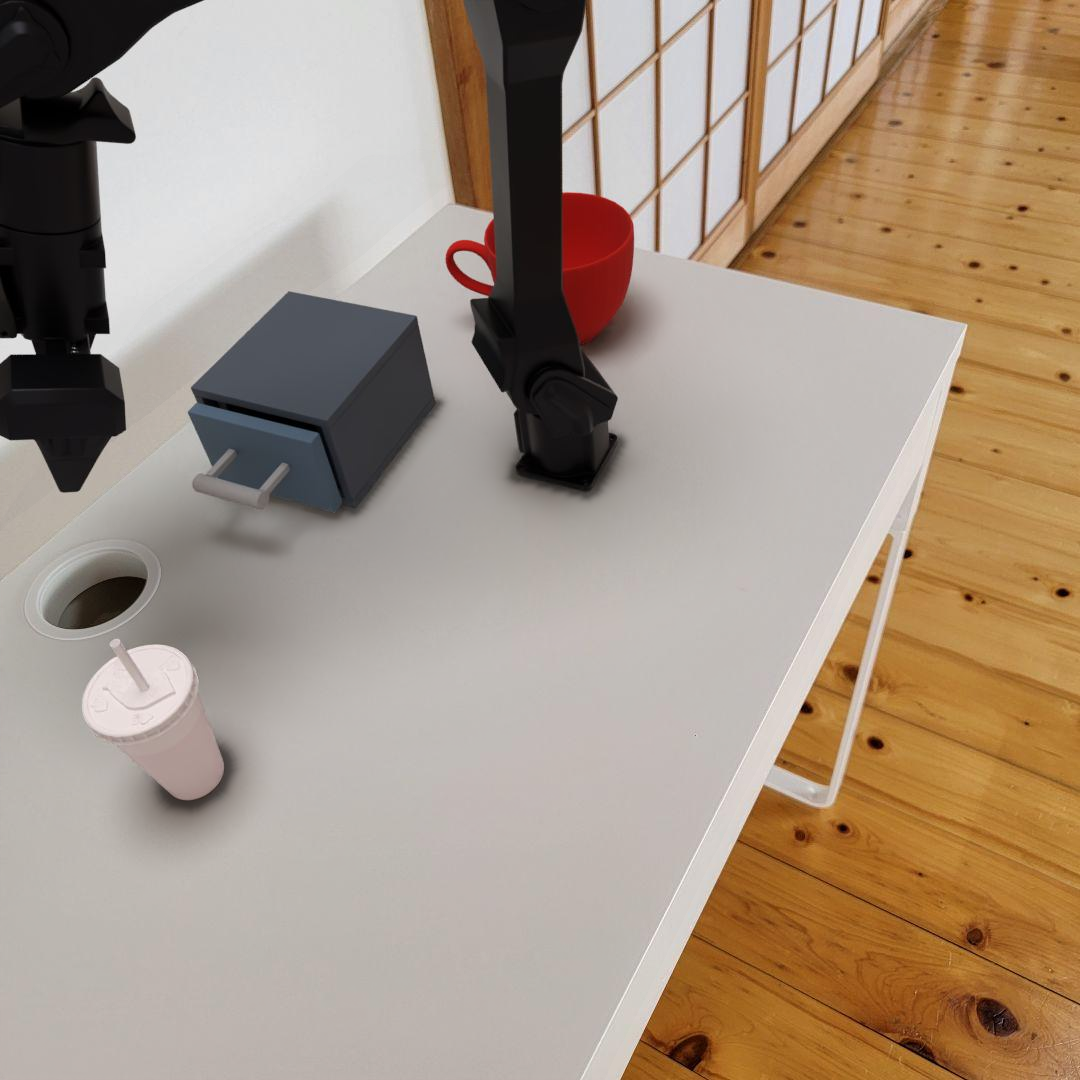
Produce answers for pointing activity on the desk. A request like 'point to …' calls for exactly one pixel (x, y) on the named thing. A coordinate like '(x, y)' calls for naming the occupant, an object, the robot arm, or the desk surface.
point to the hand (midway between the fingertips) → (65, 445)
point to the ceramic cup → (576, 260)
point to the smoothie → (156, 717)
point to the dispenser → (331, 380)
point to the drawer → (263, 458)
